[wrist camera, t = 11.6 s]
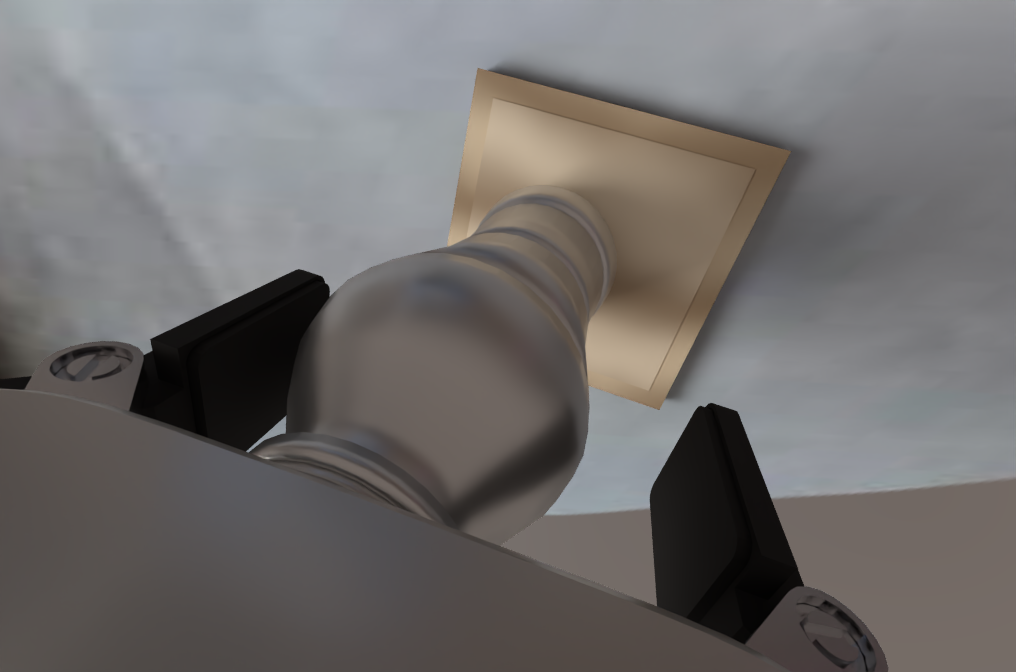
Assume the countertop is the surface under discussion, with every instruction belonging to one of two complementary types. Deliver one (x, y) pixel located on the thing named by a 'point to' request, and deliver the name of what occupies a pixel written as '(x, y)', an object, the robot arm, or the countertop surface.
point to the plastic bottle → (458, 370)
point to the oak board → (624, 212)
